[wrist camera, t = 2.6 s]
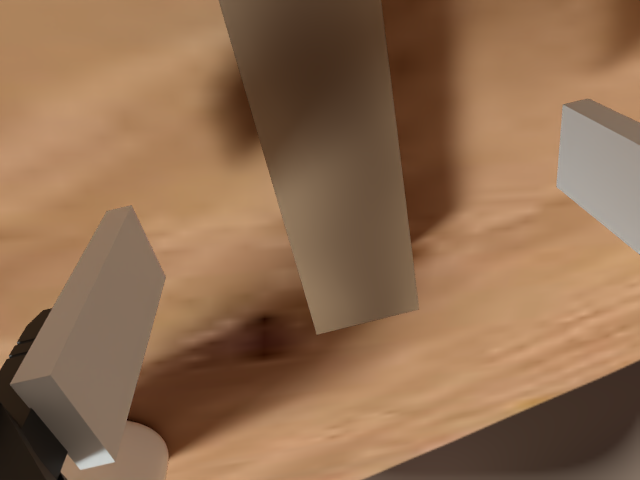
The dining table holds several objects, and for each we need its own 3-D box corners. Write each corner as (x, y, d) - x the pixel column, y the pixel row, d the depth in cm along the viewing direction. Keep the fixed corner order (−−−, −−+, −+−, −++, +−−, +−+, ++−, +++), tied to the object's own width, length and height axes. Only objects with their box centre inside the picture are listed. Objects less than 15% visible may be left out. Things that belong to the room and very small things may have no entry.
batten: (305, 272, 21) (316, 334, 18) (63, -586, 10) (-38, -872, 6) (392, 251, 21) (419, 309, 18) (258, -634, 10) (264, -946, 6)
